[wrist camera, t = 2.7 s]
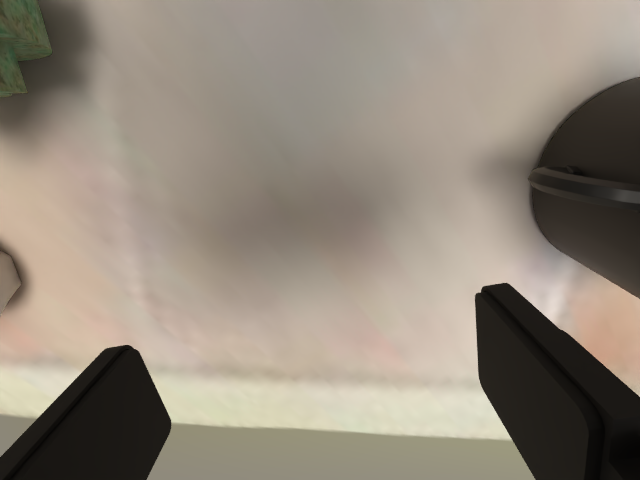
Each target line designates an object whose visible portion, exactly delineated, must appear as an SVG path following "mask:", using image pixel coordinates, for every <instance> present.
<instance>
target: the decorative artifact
mask: <svg viewBox="0 0 640 480" xmlns="http://www.w3.org/2000/svg"><path fill="white" fill-rule="evenodd" d="M51 54H52V49H51V46H50V42H49V39H48V35H47V32H46V28H45V25H44V21H43V18H42V14H41V11H40V7H39V4H38V0H0V97H9V96H12V94H11V93H28V92H27V89H26V86H25V83H24V80H23V77H22V74H21V70H20V67H19V64H18V61H25V60H34V59H40V58H44V57H47V56H49V55H51Z"/></svg>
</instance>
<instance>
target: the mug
mask: <svg viewBox="0 0 640 480" xmlns="http://www.w3.org/2000/svg"><path fill="white" fill-rule="evenodd" d="M528 180H529V182H530V183H531V184H532V186H533V206H534V211H535V215H536V219H537V222H538V224H539V226H540V228H541V230H542V232H543V234H544V235H545V237H546V238H547V239H548V240H549V242H550V243H551V244H552V245H553V246H555V247H556V248H557V249H558V250H560V251H561V252H563V253H564V254H566V255H568V256H569V257H571V258H573V259H574V260H576V261H578V262H579V263H581V264H583V265H584V266H586V267H588V268H589V269H591V270H593V271H594V272H596V273H598V274H599V275H601V276H603V277H604V278H606V279H608V280H609V281H611V282H613V283H614V284H616V285H618V286H619V287H621V288H623V289H624V290H626V291H628V292H629V293H631V294H633V295H634V296H636V297H638V298H639V299H640V77H638V78H634V79H631V80H628V81H626V82H623V83H621V84H618V85H616V86H614V87H612V88H610V89H608V90H606V91H605V92H603V93H601V94H600V95H598V96H597V97H595V98H594V99H592V100H591V101H589V102H588V103H586V104H585V105H584V106H583V107H581V108H580V109H579V110H578V111H576V112H575V113H574V114H573V115H572V116H571V117H570V118H569V119H568V120H567V121H566V122H565V123H564V124H563V125H562V127H561V128H560V129H559V130H558V132H557V133H556V134H555V136H554V137H553V138H552V140H551V141H550V143H549V145H548V146H547V148H546V150H545V152H544V154H543V156H542V158H541V161H540V163H539V165H538V168H537V169H533V170H532V172H531V174H530V176H529V178H528Z"/></svg>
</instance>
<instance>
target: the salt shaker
mask: <svg viewBox="0 0 640 480" xmlns="http://www.w3.org/2000/svg"><path fill="white" fill-rule="evenodd" d="M21 284H22V283H21V281H20V278H19V276H18V273H17V271H16V268H15V266H14V263H13V261H12V258H11V256H9V255H8V254H6V253H4V252H2V251H1V250H0V316H1V314H2V312H3V310H4V308H5V307H6V305H7V303H8V301H9V299H10V298H11V297H12V295H13V294H14V293H15V291H16V290H17V289H18V287H19V286H20V285H21Z"/></svg>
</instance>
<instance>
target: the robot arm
mask: <svg viewBox="0 0 640 480" xmlns="http://www.w3.org/2000/svg"><path fill="white" fill-rule="evenodd" d="M475 307H476V329H477V351H478V372H479V379H480V383H481V386H482V388H483V390H484V392H485V394H486V395H487V397H488V399H489V401H490V402H491V404H492V406H493V407H494V409H495V411H496V413H497V414H498V416H499V418H500V419H501V421H502V423H503V425H504V426H505V428H506V430H507V431H508V433H509V435H510V437H511V438H512V440H513V442H514V443H515V445H516V447H517V449H518V450H519V452H520V454H521V455H522V457H523V459H524V461H525V462H526V464H527V466H528V467H529V469H530V471H531V473H532V474H533V476H534V478H535V479H536V480H640V397H639V396H638V395H637V394H636V393H635V392H633V391H632V390H631V389H630V388H629V387H628V386H627V385H625V384H624V383H623V382H622V381H621V380H620V379H619V378H618V377H616V376H615V375H614V374H613V373H612V372H611V371H610V370H609V369H607V368H606V367H605V366H604V365H603V364H602V363H601V362H599V361H598V360H597V359H596V358H595V357H594V356H593V355H592V354H590V353H589V352H588V351H587V350H586V349H585V348H584V347H582V346H581V345H580V344H579V343H578V342H577V341H576V340H575V339H573V338H572V337H571V336H570V335H569V334H567V333H566V332H564V331H563V330H560V329H559V328H558V327H557V326H555V325H554V324H553V323H552V322H551V321H550V320H549V319H548V318H547V317H545V316H544V315H543V314H542V313H541V312H540V311H539V310H538V309H536V308H535V307H534V306H533V305H532V304H531V303H530V302H529V301H528V300H526V299H525V298H524V297H523V296H522V295H521V294H520V293H519V292H517V291H516V290H515V289H514V288H513V287H512V286H511V285H510V284H508V283H501V284H495V285H489V286H484V287H483V288H482V290H481V293H477V294H476V295H475ZM170 429H171V419H170V417H169V415H168V413H167V410H166V408H165V406H164V404H163V402H162V400H161V398H160V396H159V393H158V391H157V389H156V387H155V385H154V383H153V381H152V378H151V376H150V374H149V372H148V370H147V368H146V366H145V364H144V361H143V359H142V357H141V355H140V353H139V352H138V350H136V349H134V348H133V347H131V346H130V345H123V346H117V347H111V348H107V349H105V350H104V351H102V352H101V353H100V355H99V356H98V357H97V358H96V359H95V360H94V361H93V362H92V363H91V364H90V365H89V366H88V367H87V368H86V369H85V370H84V371H83V372H82V373H81V374H80V375H79V376H78V377H77V378H76V379H75V380H74V381H73V382H72V384H71V385H70V386H69V387H68V388H67V389H66V390H65V391H64V392H63V393H62V394H61V395H60V396H59V397H58V398H57V399H56V400H55V401H54V402H53V403H52V404H51V405H50V406H49V407H48V408H47V409H46V410H45V411H44V413H43V414H42V415H41V416H40V417H39V418H38V419H37V420H36V421H35V422H34V423H33V424H32V425H31V426H30V427H29V428H28V429H27V430H26V431H25V432H24V433H23V434H22V435H21V436H20V437H19V438H18V439H17V441H16V442H15V443H14V444H13V445H12V446H11V447H10V448H9V449H8V450H7V451H6V452H5V453H4V454H3V455H2V456H1V457H0V480H146V479H147V477H148V475H149V473H150V471H151V469H152V467H153V465H154V463H155V461H156V459H157V457H158V455H159V453H160V451H161V449H162V447H163V445H164V443H165V441H166V439H167V437H168V435H169V433H170Z"/></svg>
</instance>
